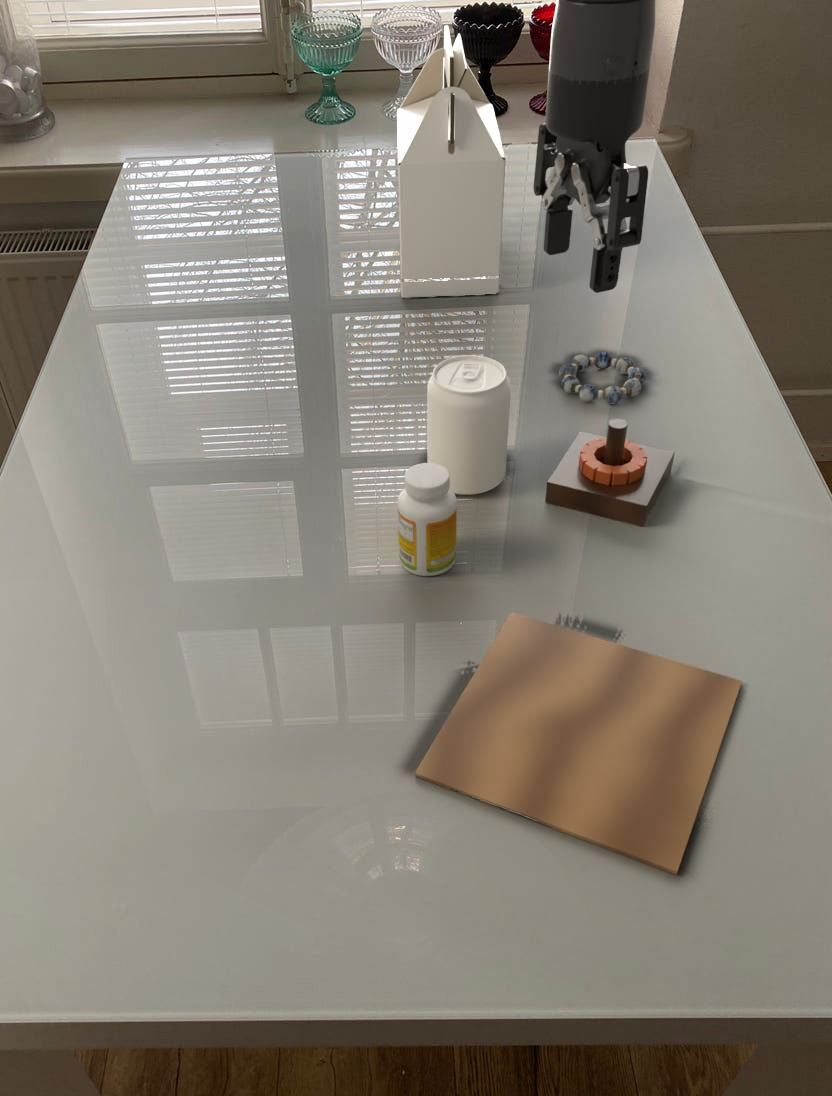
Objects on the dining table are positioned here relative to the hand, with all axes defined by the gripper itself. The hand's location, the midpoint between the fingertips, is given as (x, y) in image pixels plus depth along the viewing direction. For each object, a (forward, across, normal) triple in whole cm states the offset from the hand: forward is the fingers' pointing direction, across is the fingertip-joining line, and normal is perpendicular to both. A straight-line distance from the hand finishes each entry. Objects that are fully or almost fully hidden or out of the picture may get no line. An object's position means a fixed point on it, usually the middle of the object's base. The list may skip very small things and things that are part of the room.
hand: (578, 270), depth 86 cm
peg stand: (+22, -3, -4) cm, 23 cm away
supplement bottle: (+23, -6, +17) cm, 29 cm away
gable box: (+22, +54, -10) cm, 59 cm away
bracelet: (+23, +16, -13) cm, 31 cm away
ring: (+20, -3, -4) cm, 21 cm away
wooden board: (+22, -31, +13) cm, 40 cm away
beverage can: (+23, +5, +8) cm, 24 cm away
